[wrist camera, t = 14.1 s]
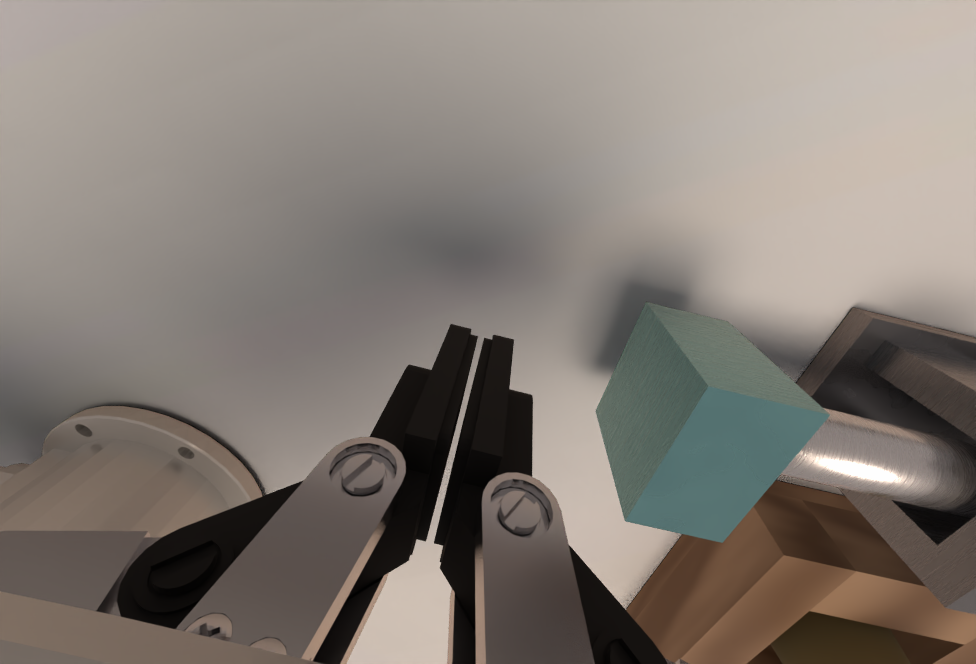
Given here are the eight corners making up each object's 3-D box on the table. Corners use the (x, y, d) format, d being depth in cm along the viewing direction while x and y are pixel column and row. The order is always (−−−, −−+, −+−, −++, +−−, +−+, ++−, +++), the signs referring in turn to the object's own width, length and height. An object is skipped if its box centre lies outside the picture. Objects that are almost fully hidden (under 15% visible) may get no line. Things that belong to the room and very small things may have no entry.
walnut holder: (626, 609, 26) (644, 694, 22) (730, 470, 20) (783, 555, 16) (817, 650, 27) (869, 741, 23) (981, 527, 20) (1094, 624, 16)
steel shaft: (595, 411, 16) (624, 521, 11) (646, 301, 13) (708, 385, 9) (981, 500, 16) (1154, 639, 12) (1095, 410, 14) (1364, 541, 9)
